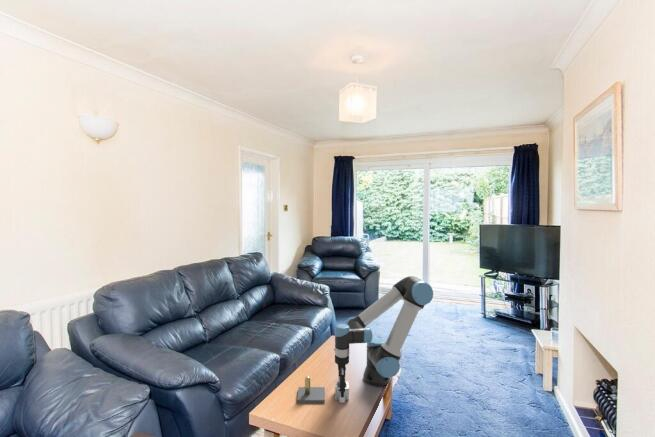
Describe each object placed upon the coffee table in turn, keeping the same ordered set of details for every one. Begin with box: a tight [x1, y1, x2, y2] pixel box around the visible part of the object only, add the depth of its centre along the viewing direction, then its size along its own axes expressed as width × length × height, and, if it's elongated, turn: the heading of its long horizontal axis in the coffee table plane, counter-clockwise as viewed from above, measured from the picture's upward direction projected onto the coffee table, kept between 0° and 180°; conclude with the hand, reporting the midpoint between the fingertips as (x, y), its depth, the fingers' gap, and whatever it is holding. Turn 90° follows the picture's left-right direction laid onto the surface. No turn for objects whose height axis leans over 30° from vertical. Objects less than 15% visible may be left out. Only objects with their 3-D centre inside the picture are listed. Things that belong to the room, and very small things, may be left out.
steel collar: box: [334, 380, 350, 401], centre depth 179 cm, size 7×7×6 cm
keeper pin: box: [304, 376, 311, 395], centre depth 178 cm, size 3×3×9 cm
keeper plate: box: [296, 386, 326, 404], centre depth 179 cm, size 14×12×2 cm
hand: (341, 395), depth 179 cm, fingers open, 11 cm apart
